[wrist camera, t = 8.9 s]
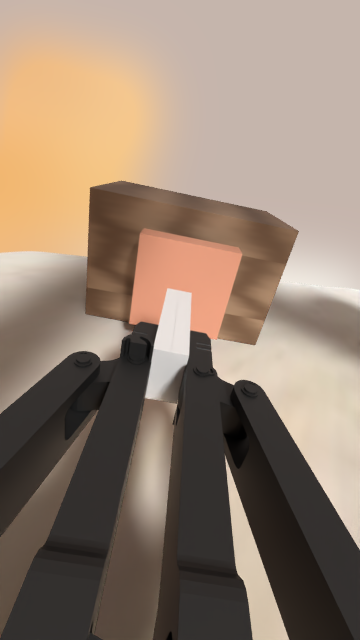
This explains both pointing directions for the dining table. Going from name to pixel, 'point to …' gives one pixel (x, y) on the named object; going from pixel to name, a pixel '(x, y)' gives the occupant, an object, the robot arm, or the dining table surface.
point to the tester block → (190, 221)
